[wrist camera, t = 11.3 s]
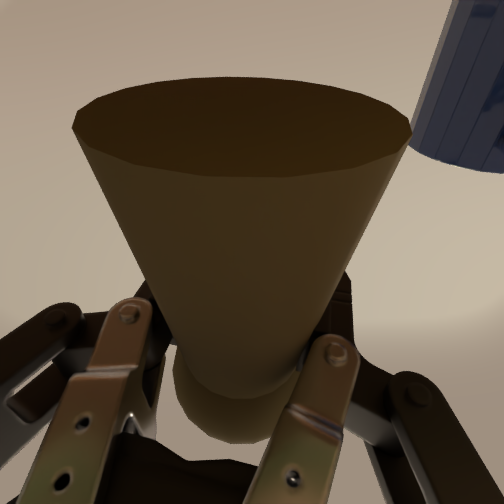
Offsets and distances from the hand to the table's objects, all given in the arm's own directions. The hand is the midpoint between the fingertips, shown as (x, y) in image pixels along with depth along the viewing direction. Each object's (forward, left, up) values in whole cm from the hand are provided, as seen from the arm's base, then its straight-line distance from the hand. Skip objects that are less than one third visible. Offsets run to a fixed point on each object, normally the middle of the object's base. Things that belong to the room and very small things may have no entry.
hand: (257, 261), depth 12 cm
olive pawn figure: (0, +3, -6) cm, 7 cm away
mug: (+13, -15, -10) cm, 22 cm away
